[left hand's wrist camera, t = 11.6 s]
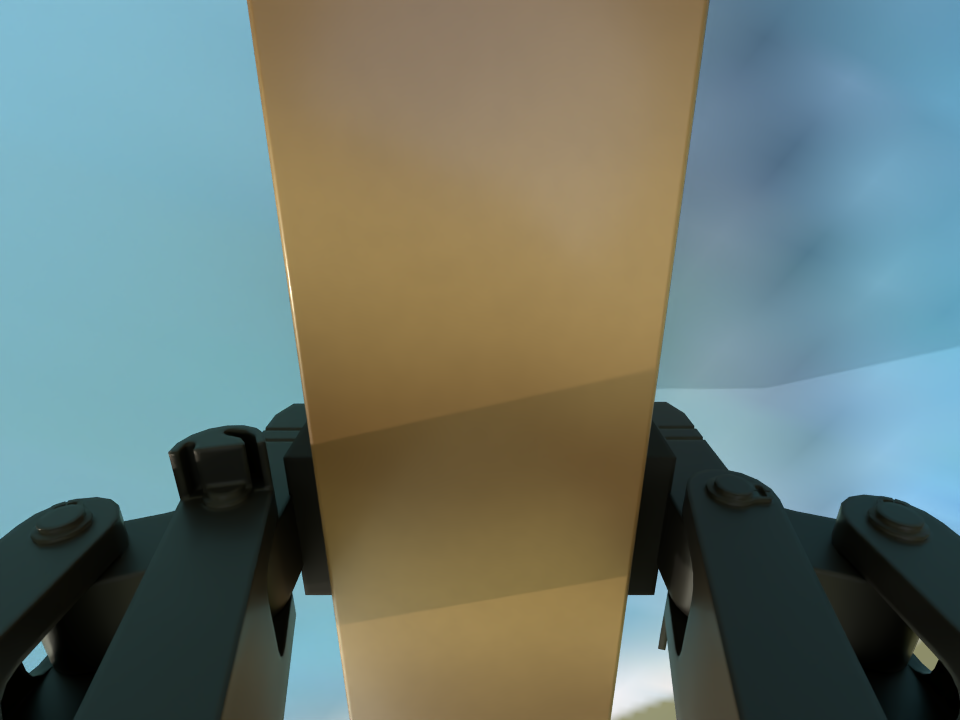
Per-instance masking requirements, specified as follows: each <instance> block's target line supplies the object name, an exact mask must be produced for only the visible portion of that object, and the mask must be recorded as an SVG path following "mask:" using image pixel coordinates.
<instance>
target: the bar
mask: <svg viewBox="0 0 960 720" xmlns="http://www.w3.org/2000/svg"><path fill="white" fill-rule="evenodd" d="M247 5H248V12H249V19H250V26H251V33H252V40H253V47H254V54H255V61H256V68H257V75H258V82H259V89H260V96H261V103H262V110H263V117H264V124H265V131H266V138H267V145H268V151H269V158H270V165H271V172H272V179H273V186H274V193H275V200H276V207H277V214H278V221H279V228H280V235H281V242H282V249H283V256H284V263H285V270H286V277H287V284H288V291H289V298H290V305H291V312H292V319H293V326H294V333H295V340H296V347H297V354H298V361H299V368H300V375H301V382H302V389H303V396H304V403H305V410H306V417H307V424H308V431H309V438H310V445H311V452H312V459H313V466H314V473H315V480H316V487H317V494H318V501H319V508H320V515H321V522H322V529H323V536H324V543H325V550H326V557H327V564H328V571H329V578H330V584H331V591H332V598H333V605H334V612H335V619H336V626H337V633H338V640H339V647H340V654H341V661H342V668H343V675H344V682H345V689H346V696H347V703H348V710H349V717H350V720H611V712H612V705H613V698H614V691H615V683H616V676H617V669H618V662H619V654H620V647H621V640H622V632H623V625H624V618H625V611H626V603H627V596H628V589H629V582H630V574H631V567H632V560H633V553H634V545H635V538H636V531H637V524H638V516H639V509H640V502H641V494H642V487H643V480H644V473H645V465H646V458H647V451H648V444H649V436H650V429H651V422H652V415H653V407H654V400H655V393H656V385H657V378H658V371H659V364H660V356H661V349H662V342H663V335H664V327H665V320H666V313H667V306H668V298H669V291H670V284H671V277H672V269H673V262H674V255H675V247H676V240H677V233H678V226H679V218H680V211H681V204H682V197H683V189H684V182H685V175H686V168H687V160H688V153H689V146H690V138H691V131H692V124H693V117H694V109H695V102H696V95H697V88H698V80H699V73H700V66H701V59H702V51H703V44H704V37H705V30H706V22H707V15H708V8H709V0H247Z"/></svg>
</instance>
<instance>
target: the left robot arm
mask: <svg viewBox="0 0 960 720" xmlns="http://www.w3.org/2000/svg"><path fill="white" fill-rule="evenodd" d="M168 453H169V457H170V461H171V465H172V469H173V473H174V476H175V480H176V484H177V488H178V492H179V496H180V502H179V504H178V506H177V508H176V510H175V511H172V512H168V513H164V514H159V515H154V516H149V517H144V518H139V519H134V520H129V521H124V520H123V517H122V514H121V511H120V508H119V505H118V504H116V503H115V502H114V501H112V500H111V499H106V498H99V497H93V498H83V499H74V500H69V501H68V502H62V503H59V504H56V505H53V506H52V507H50V508H48V509H46V510H44V511H41V512H39V513H37V514H35V515H33V516H32V517H30V518H29V519H27V520H25V521H24V522H22V523H21V524H19V525H18V526H16V527H15V528H14V529H13V530H11V531H10V532H9V533H8V534H6V535H5V536H4V537H3V538H1V539H0V720H283V719H284V711H285V702H286V694H287V686H288V677H289V669H290V661H291V652H292V644H293V635H294V627H295V619H296V612H295V605H294V599H293V594H292V591H293V589H294V587H295V584H296V582H297V580H298V577H299V575H300V573H301V571H302V577H303V583H304V589H305V595H332V591H331V584H330V578H329V571H328V564H327V557H326V550H325V543H324V536H323V529H322V522H321V515H320V508H319V501H318V494H317V487H316V480H315V473H314V466H313V459H312V452H311V445H310V438H309V431H308V424H307V417H306V410H305V404H293V405H291V406H289V407H288V408H286V409H284V410H283V411H281V412H280V413H278V414H276V415H275V416H274V418H273V419H272V420H271V422H270V423H269V424H268V426H267V427H266V431H263V432H261V431H260V430H258V429H257V428H254V427H249V426H245V425H232V426H222V427H217V428H211V429H207V430H205V431H202V432H199V433H196V434H193V435H191V436H189V437H187V438H186V439H184V440H182V441H180V442H178V443H177V444H176V445H175V446H174V447H173V448H172V449H171V450H170V451H169V452H168ZM658 568H659V571H660V573H661V575H662V578H663V580H664V582H665V585H666V587H667V589H668V594H667V599H666V605H665V611H664V616H663V622H662V628H661V634H660V640H659V646H658V649H662V650H665V648H666V643H668V651H669V659H670V668H671V676H672V684H673V693H674V701H675V709H676V718H677V720H960V536H959V535H958V534H956V533H955V532H954V531H953V530H951V529H950V528H949V527H948V526H946V525H945V524H944V523H942V522H941V521H939V520H938V519H936V518H934V517H933V516H931V515H930V514H928V513H927V512H925V511H923V510H920V509H918V508H916V507H913V506H911V505H910V504H908V503H906V502H903V501H900V500H897V499H895V500H893V499H892V498H889V497H884V496H872V495H858V496H852V497H848V498H847V499H846V500H845V501H843V502H842V503H841V506H840V509H839V512H838V516H837V519H833V518H828V517H823V516H818V515H813V514H807V513H802V512H797V511H793V510H789V509H785V508H784V507H783V505H782V503H781V501H780V499H779V498H778V497H777V495H776V494H775V493H774V492H773V490H772V489H771V488H769V487H768V486H766V485H765V484H763V483H762V482H760V481H759V480H757V479H754V478H752V477H750V476H747V475H745V474H742V473H739V472H734V471H729V470H728V469H727V468H726V466H725V465H724V464H723V463H722V461H721V460H720V459H719V457H718V456H717V455H716V453H715V452H714V451H713V450H712V448H711V447H710V446H709V444H708V443H707V442H706V441H705V440H703V437H702V435H701V434H700V433H699V432H698V430H697V429H694V425H693V424H692V423H691V421H690V420H689V419H688V417H687V416H686V415H685V414H684V413H683V412H682V411H680V410H678V409H677V408H675V407H673V406H672V405H670V404H669V403H667V402H654V407H653V415H652V422H651V429H650V436H649V444H648V451H647V458H646V465H645V473H644V480H643V487H642V494H641V502H640V509H639V516H638V524H637V531H636V538H635V545H634V553H633V560H632V567H631V574H630V582H629V589H628V595H654V593H655V587H656V581H657V574H658ZM919 638H920V639H921V640H922V641H923V642H924V643H925V645H926V646H927V647H928V648H929V649H930V650H931V651H932V652H933V653H934V654H935V655H936V657H937V658H938V659H939V660H938V662H937V664H936V666H935V669H934V670H933V671H930V670H929V669H928V668H927V667H926V666H925V665H923V664H922V663H921V662H920V660H919V659H918V658H917V657H916V656H915V655H914V654H913V651H914V649H915V647H916V644H917V642H918V640H919ZM41 641H42V643H43V646H44V648H45V650H46V653H47V656H46V657H45V659H44V660H43V661H42V662H41V663H40V664H39V665H38V666H37V667H36V668H35V669H34V670H32V671H31V672H30V673H28V672H27V671H26V670H25V668H24V665H23V663H22V661H23V660H24V659H25V658H26V657H27V656H28V655H29V654H30V653H31V651H32V650H33V649H34V648H35V647H36V646H37V645H38V644H39V643H40V642H41Z"/></svg>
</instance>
